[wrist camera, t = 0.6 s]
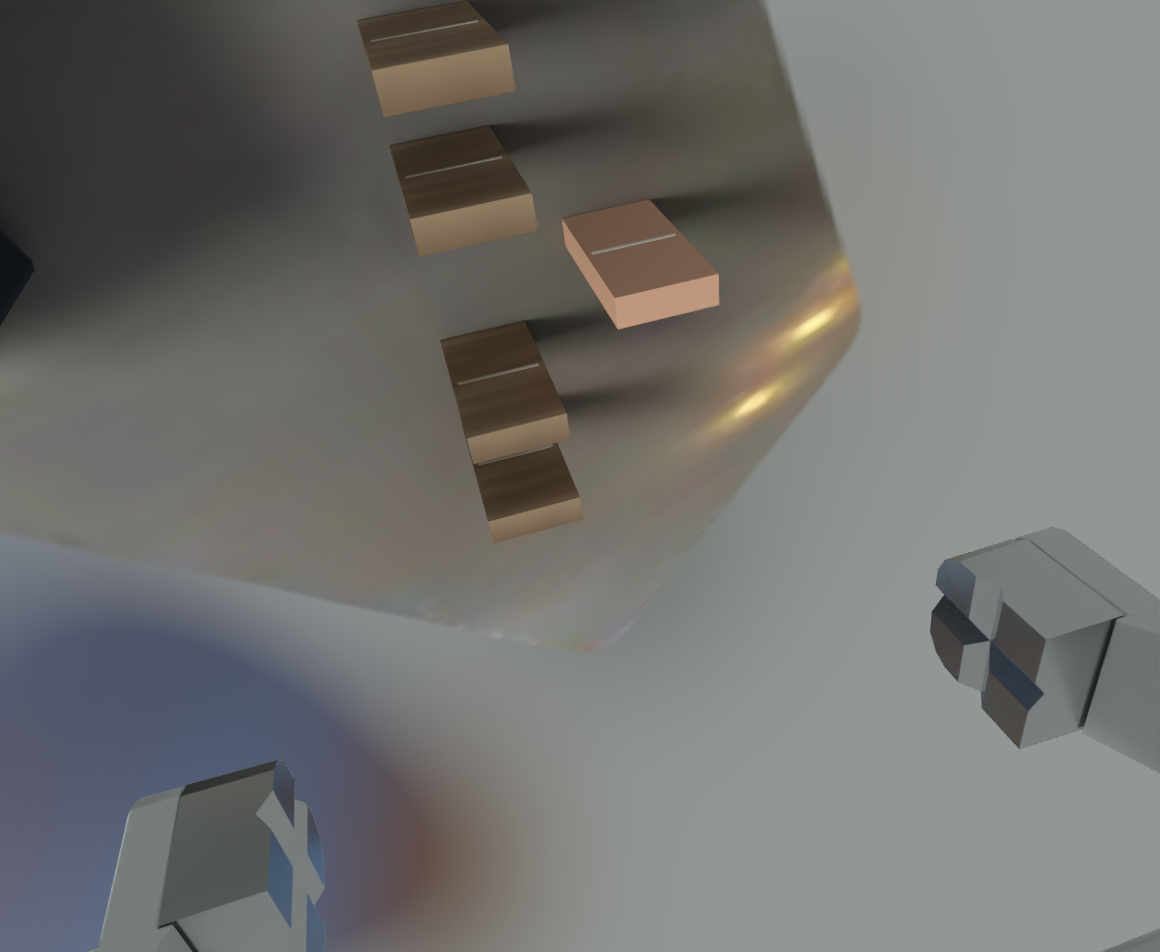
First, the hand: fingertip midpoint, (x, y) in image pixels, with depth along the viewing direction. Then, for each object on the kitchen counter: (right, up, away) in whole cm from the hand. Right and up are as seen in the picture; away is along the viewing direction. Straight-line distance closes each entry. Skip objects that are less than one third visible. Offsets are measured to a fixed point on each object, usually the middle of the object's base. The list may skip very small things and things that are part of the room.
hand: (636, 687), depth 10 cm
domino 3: (-6, +10, +38) cm, 40 cm away
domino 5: (+1, +17, +36) cm, 39 cm away
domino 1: (-8, +23, +28) cm, 37 cm away
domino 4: (-6, +6, +42) cm, 43 cm away
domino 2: (-7, +19, +31) cm, 37 cm away
